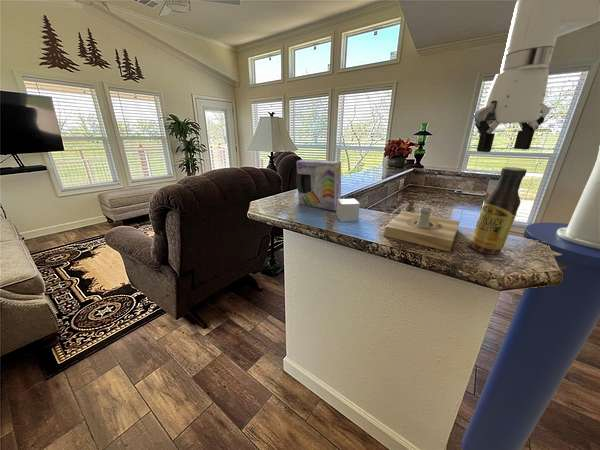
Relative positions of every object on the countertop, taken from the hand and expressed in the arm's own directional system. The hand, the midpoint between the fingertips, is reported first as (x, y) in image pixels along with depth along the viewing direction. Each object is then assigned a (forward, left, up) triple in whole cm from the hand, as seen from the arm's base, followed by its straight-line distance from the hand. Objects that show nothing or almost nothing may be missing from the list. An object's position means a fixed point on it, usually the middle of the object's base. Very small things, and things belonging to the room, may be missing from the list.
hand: (502, 150), depth 55 cm
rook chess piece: (+12, -6, -23) cm, 27 cm away
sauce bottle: (+3, +6, -23) cm, 24 cm away
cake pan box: (+36, -38, -23) cm, 57 cm away
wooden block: (+12, -6, -23) cm, 27 cm away
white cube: (+29, -22, -23) cm, 43 cm away
